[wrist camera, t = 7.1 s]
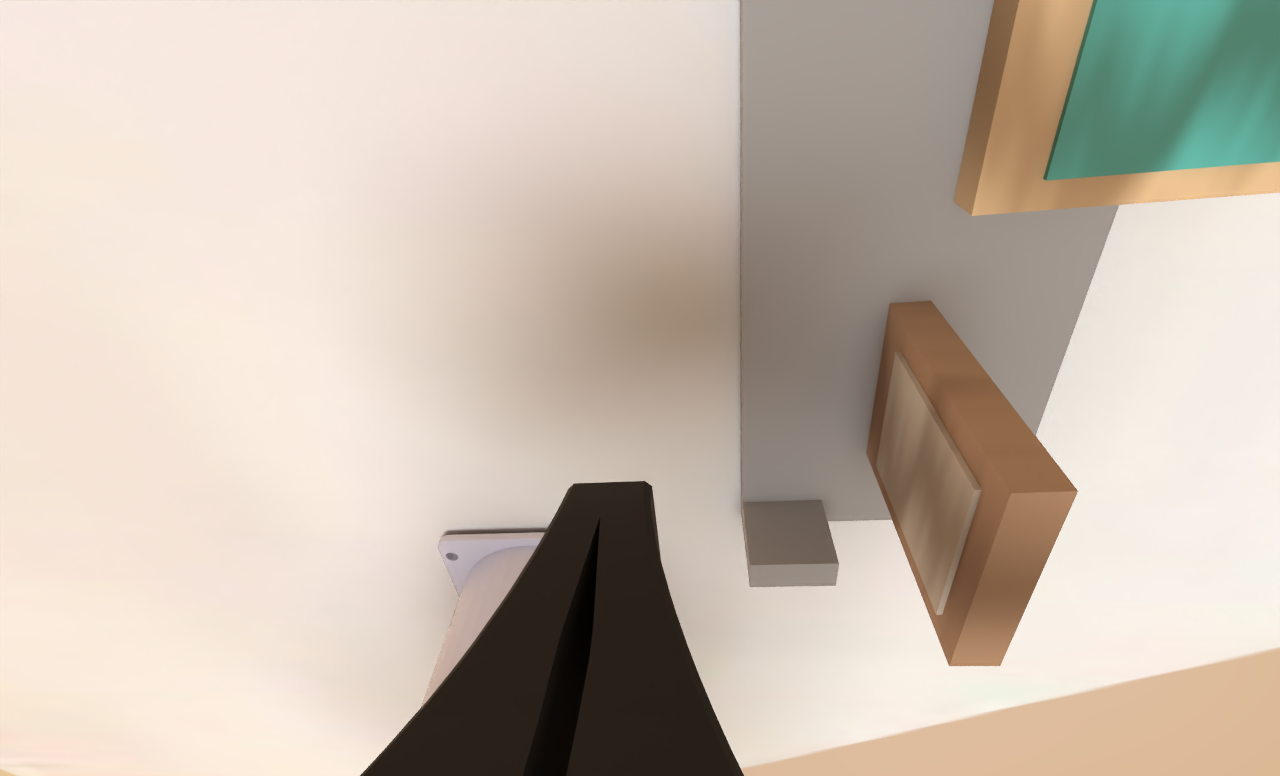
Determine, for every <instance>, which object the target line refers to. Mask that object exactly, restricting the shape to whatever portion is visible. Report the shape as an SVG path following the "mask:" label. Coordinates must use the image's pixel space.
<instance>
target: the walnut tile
mask: <svg viewBox="0 0 1280 776" xmlns="http://www.w3.org/2000/svg"><path fill="white" fill-rule="evenodd" d="M866 454H867V456H868V459H869V462H870V464H871V467H872V469H873V472H874V474H875V477H876V480H877V482H878V485H879V487H880V490H881V492H882V495H883V497H884V500H885V503H886V505H887V508H888V510H889V513H890V515H891V518H892V521H893V523H894V526H895V528H896V531H897V533H898V536H899V538H900V541H901V544H902V546H903V549H904V551H905V554H906V556H907V559H908V562H909V564H910V567H911V569H912V572H913V574H914V577H915V579H916V582H917V585H918V587H919V590H920V592H921V595H922V597H923V600H924V603H925V605H926V608H927V610H928V613H929V615H930V618H931V621H932V623H933V626H934V628H935V631H936V633H937V636H938V638H939V641H940V644H941V646H942V649H943V651H944V654H945V656H946V659H947V662H948V664H949V666H1000V665H1001V663H1002V660H1003V658H1004V656H1005V654H1006V651H1007V649H1008V647H1009V645H1010V642H1011V640H1012V638H1013V636H1014V633H1015V631H1016V629H1017V627H1018V624H1019V622H1020V620H1021V618H1022V615H1023V613H1024V611H1025V609H1026V607H1027V604H1028V602H1029V600H1030V598H1031V595H1032V593H1033V591H1034V589H1035V586H1036V584H1037V582H1038V580H1039V577H1040V575H1041V573H1042V571H1043V568H1044V566H1045V564H1046V562H1047V559H1048V557H1049V555H1050V553H1051V550H1052V548H1053V546H1054V544H1055V541H1056V539H1057V537H1058V535H1059V533H1060V530H1061V528H1062V526H1063V524H1064V521H1065V519H1066V517H1067V515H1068V512H1069V510H1070V508H1071V506H1072V503H1073V501H1074V499H1075V497H1076V494H1077V492H1078V491H1077V489H1076V488H1075V487H1074V486H1073V484H1072V483H1071V482H1070V480H1069V479H1068V478H1067V476H1066V475H1065V474H1064V473H1063V471H1062V470H1061V469H1060V467H1059V466H1058V465H1057V463H1056V462H1055V461H1054V460H1053V458H1052V457H1051V456H1050V454H1049V453H1048V452H1047V450H1046V449H1045V448H1044V447H1043V445H1042V444H1041V443H1040V441H1039V440H1038V439H1037V437H1036V436H1035V435H1034V434H1033V432H1032V431H1031V430H1030V428H1029V427H1028V426H1027V424H1026V423H1025V422H1024V421H1023V419H1022V418H1021V417H1020V415H1019V414H1018V413H1017V412H1016V410H1015V409H1014V408H1013V406H1012V405H1011V404H1010V402H1009V401H1008V400H1007V399H1006V397H1005V396H1004V395H1003V393H1002V392H1001V391H1000V389H999V388H998V387H997V386H996V384H995V383H994V382H993V380H992V379H991V378H990V376H989V375H988V374H987V373H986V371H985V370H984V369H983V367H982V366H981V365H980V363H979V362H978V361H977V360H976V358H975V357H974V356H973V354H972V353H971V352H970V350H969V349H968V348H967V347H966V345H965V344H964V343H963V341H962V340H961V339H960V337H959V336H958V335H957V334H956V332H955V331H954V330H953V328H952V327H951V326H950V325H949V323H948V322H947V321H946V319H945V318H944V317H943V315H942V314H941V313H940V312H939V310H938V309H937V308H936V306H935V305H934V304H933V302H932V301H916V302H900V303H890V304H889V311H888V317H887V323H886V330H885V336H884V343H883V349H882V355H881V362H880V368H879V375H878V381H877V387H876V394H875V400H874V407H873V413H872V419H871V426H870V432H869V439H868V445H867V451H866Z"/></svg>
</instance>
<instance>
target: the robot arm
mask: <svg viewBox="0 0 1280 776" xmlns="http://www.w3.org/2000/svg"><path fill="white" fill-rule="evenodd" d="M438 549H439V551H440V554H441V556H442V558H443V561H444V563H445V565H446V567H447V570H448V572H449V574H450V577H451V579H452V581H453V583H454V586H455V588H456V590H457V592H458V595H459V597H460V598H459V601H458V604H457V607H456V610H455V612H454V615H453V618H452V621H451V624H450V627H449V629H448V632H447V635H446V638H445V641H444V644H443V647H442V649H441V652H440V655H439V658H438V661H437V664H436V666H435V669H434V672H433V675H432V678H431V681H430V684H429V686H428V689H427V692H426V695H425V698H424V701H423V703H422V706H421V709H420V710H419V711H418V712H417V713H416V714H415V715H414V717H413V718H412V719H411V720H410V721H409V722H408V723H407V724H406V726H405V727H404V728H403V729H402V730H401V731H400V732H399V734H398V735H397V736H396V737H395V738H394V739H393V740H392V742H391V743H390V744H389V745H388V746H387V747H386V748H385V749H384V751H383V752H382V753H381V754H380V755H379V756H378V757H377V758H376V759H375V760H374V761H373V762H372V764H371V765H370V766H369V767H368V768H367V769H366V770H365V771H364V772H363V773H362V774H361V775H360V776H744V775H743V773H742V771H741V769H740V767H739V765H738V763H737V761H736V758H735V756H734V754H733V752H732V750H731V748H730V746H729V744H728V741H727V739H726V737H725V735H724V733H723V730H722V728H721V726H720V724H719V721H718V719H717V717H716V715H715V712H714V710H713V708H712V705H711V703H710V701H709V698H708V696H707V693H706V691H705V689H704V686H703V684H702V682H701V679H700V677H699V674H698V672H697V669H696V667H695V664H694V661H693V659H692V656H691V654H690V651H689V648H688V646H687V643H686V640H685V637H684V634H683V632H682V629H681V626H680V623H679V620H678V617H677V614H676V611H675V608H674V605H673V602H672V599H671V596H670V592H669V589H668V585H667V581H666V578H665V574H664V571H663V567H662V564H661V560H660V550H659V541H658V533H657V525H656V516H655V508H654V500H653V491H652V486H651V485H649V484H648V483H647V482H645V481H637V482H607V483H578V484H573V485H572V486H571V487H570V488H569V489H568V491H567V493H566V495H565V497H564V499H563V501H562V503H561V505H560V507H559V509H558V511H557V512H556V514H555V516H554V518H553V520H552V522H551V523H550V525H549V527H548V529H547V530H546V532H535V533H497V534H458V535H445V536H443V537H441V539H440V541H439V544H438Z"/></svg>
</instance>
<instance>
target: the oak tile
mask: <svg viewBox="0 0 1280 776" xmlns="http://www.w3.org/2000/svg"><path fill="white" fill-rule="evenodd" d="M1278 192H1280V0H994V3H993V8H992V13H991V18H990V23H989V28H988V33H987V38H986V43H985V48H984V53H983V58H982V63H981V68H980V73H979V78H978V83H977V88H976V93H975V98H974V103H973V108H972V113H971V118H970V123H969V128H968V133H967V138H966V143H965V148H964V153H963V157H962V162H961V167H960V172H959V177H958V182H957V187H956V192H955V197H954V202H955V203H957V204H958V205H959V206H960V207H961V208H963V209H964V210H965V211H966V212H967V213H969V214H970V215H971V216H977V215H991V214H1004V213H1017V212H1030V211H1043V210H1056V209H1069V208H1082V207H1095V206H1108V205H1121V204H1134V203H1147V202H1160V201H1173V200H1186V199H1200V198H1213V197H1226V196H1239V195H1252V194H1265V193H1278Z"/></svg>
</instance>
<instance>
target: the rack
mask: <svg viewBox="0 0 1280 776" xmlns="http://www.w3.org/2000/svg"><path fill="white" fill-rule="evenodd" d="M993 3H994V0H741V514H742V523H743V532H744V540H745V549H746V558H747V566H748V575H749V583H750V587H776V586H836V580H837V572H838V565H839V563H838V559H837V555H836V551H835V548H834V544H833V540H832V537H831V533H830V529H829V526H828V522H827V521H853V520H890V519H892V518H891V515H890V513H889V510H888V508H887V505H886V503H885V500H884V497H883V495H882V492H881V490H880V487H879V485H878V482H877V480H876V477H875V474H874V472H873V469H872V467H871V464H870V462H869V459H868V456H867V454H866V451H867V445H868V439H869V432H870V426H871V419H872V413H873V407H874V400H875V394H876V387H877V381H878V375H879V368H880V362H881V355H882V349H883V343H884V336H885V330H886V323H887V317H888V311H889V304H890V303H900V302H916V301H932V302H933V304H934V305H935V306H936V308H937V309H938V310H939V312H940V313H941V314H942V315H943V317H944V318H945V319H946V321H947V322H948V323H949V325H950V326H951V327H952V328H953V330H954V331H955V332H956V334H957V335H958V336H959V337H960V339H961V340H962V341H963V343H964V344H965V345H966V347H967V348H968V349H969V350H970V352H971V353H972V354H973V356H974V357H975V358H976V360H977V361H978V362H979V363H980V365H981V366H982V367H983V369H984V370H985V371H986V373H987V374H988V375H989V376H990V378H991V379H992V380H993V382H994V383H995V384H996V386H997V387H998V388H999V389H1000V391H1001V392H1002V393H1003V395H1004V396H1005V397H1006V399H1007V400H1008V401H1009V402H1010V404H1011V405H1012V406H1013V408H1014V409H1015V410H1016V412H1017V413H1018V414H1019V415H1020V417H1021V418H1022V419H1023V421H1024V422H1025V423H1026V424H1027V426H1028V427H1029V428H1030V430H1031V431H1032V432H1033V434H1034V435H1036V432H1037V430H1038V427H1039V424H1040V421H1041V419H1042V416H1043V413H1044V410H1045V408H1046V405H1047V402H1048V399H1049V397H1050V394H1051V391H1052V388H1053V386H1054V383H1055V380H1056V377H1057V375H1058V372H1059V369H1060V366H1061V364H1062V361H1063V358H1064V355H1065V352H1066V350H1067V347H1068V344H1069V341H1070V339H1071V336H1072V333H1073V330H1074V328H1075V325H1076V322H1077V319H1078V317H1079V314H1080V311H1081V308H1082V306H1083V303H1084V300H1085V297H1086V295H1087V292H1088V289H1089V286H1090V284H1091V281H1092V278H1093V275H1094V272H1095V270H1096V267H1097V264H1098V261H1099V259H1100V256H1101V253H1102V250H1103V248H1104V245H1105V242H1106V239H1107V237H1108V234H1109V231H1110V228H1111V226H1112V223H1113V220H1114V217H1115V215H1116V212H1117V209H1118V206H1119V205H1108V206H1095V207H1082V208H1069V209H1056V210H1043V211H1030V212H1017V213H1004V214H991V215H977V216H971V215H970V214H969V213H967V212H966V211H965V210H964V209H963V208H961V207H960V206H959V205H958V204H957V203H955V202H954V197H955V192H956V187H957V182H958V177H959V172H960V167H961V162H962V157H963V153H964V148H965V143H966V138H967V133H968V128H969V123H970V118H971V113H972V108H973V103H974V98H975V93H976V88H977V83H978V78H979V73H980V68H981V63H982V58H983V53H984V48H985V43H986V38H987V33H988V28H989V23H990V18H991V13H992V8H993Z"/></svg>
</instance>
